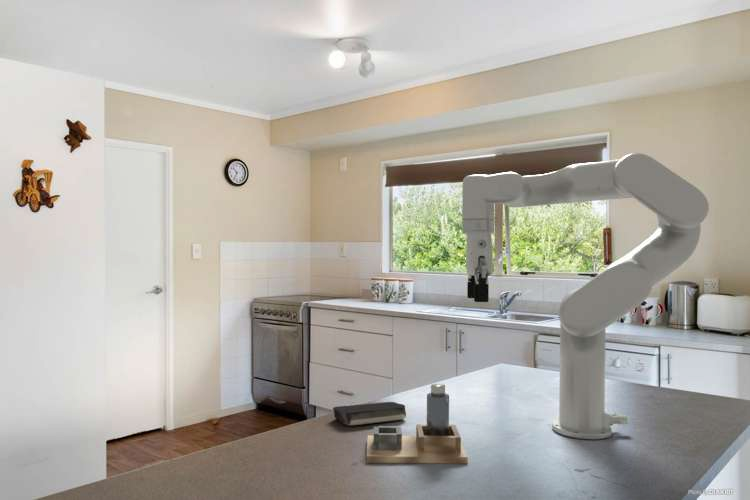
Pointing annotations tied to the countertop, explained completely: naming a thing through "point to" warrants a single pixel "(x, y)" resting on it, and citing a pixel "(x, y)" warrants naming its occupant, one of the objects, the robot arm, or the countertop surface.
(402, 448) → the holder
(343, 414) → the black sponge
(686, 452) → the countertop surface
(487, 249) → the robot arm
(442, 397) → the bottle
